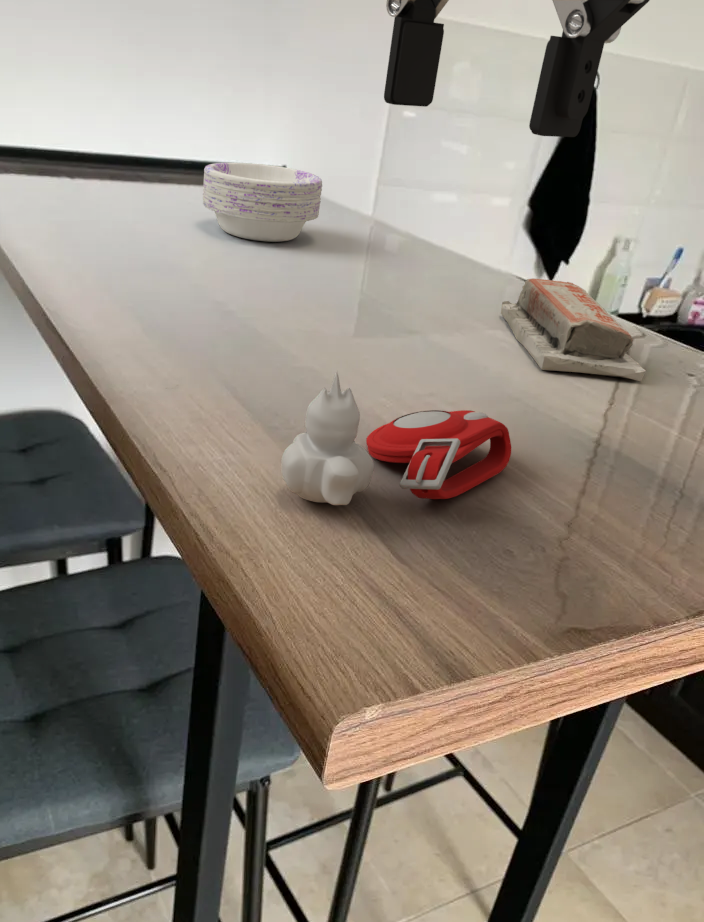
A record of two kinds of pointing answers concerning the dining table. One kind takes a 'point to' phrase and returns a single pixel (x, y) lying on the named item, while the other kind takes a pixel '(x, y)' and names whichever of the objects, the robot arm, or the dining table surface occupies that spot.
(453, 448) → the tracker holder
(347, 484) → the white figurine
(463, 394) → the dining table surface
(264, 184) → the paper bowls
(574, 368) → the packaged product
